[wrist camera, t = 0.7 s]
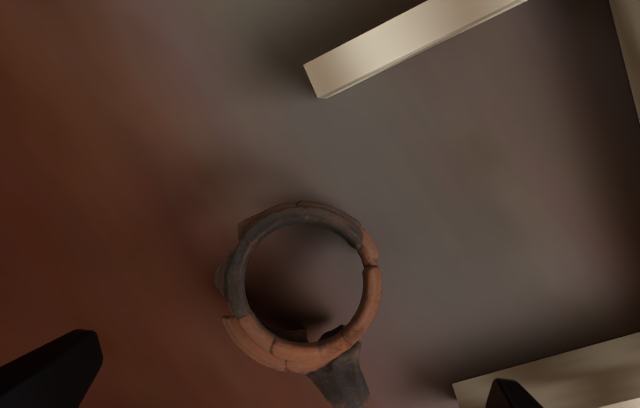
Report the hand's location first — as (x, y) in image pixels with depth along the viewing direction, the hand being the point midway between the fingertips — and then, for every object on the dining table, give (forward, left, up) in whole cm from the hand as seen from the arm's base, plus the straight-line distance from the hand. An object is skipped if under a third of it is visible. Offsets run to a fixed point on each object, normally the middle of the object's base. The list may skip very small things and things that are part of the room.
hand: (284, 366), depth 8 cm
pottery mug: (-3, -4, -14) cm, 15 cm away
